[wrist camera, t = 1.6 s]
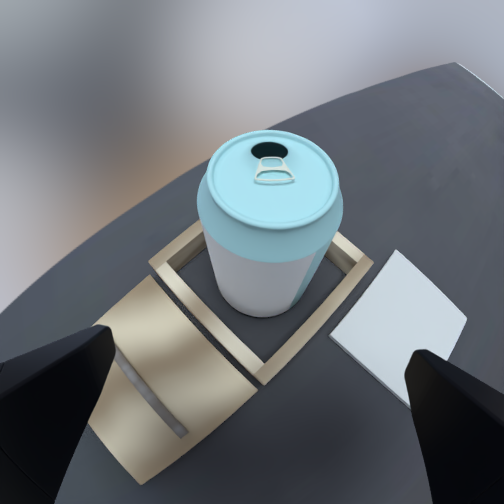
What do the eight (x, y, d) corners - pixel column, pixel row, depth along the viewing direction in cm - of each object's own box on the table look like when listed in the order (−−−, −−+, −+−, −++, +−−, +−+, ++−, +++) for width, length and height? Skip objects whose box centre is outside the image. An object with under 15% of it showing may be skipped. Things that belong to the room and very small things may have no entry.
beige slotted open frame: (362, 274, 23) (373, 262, 20) (144, 482, 15) (132, 491, 12) (260, 190, 26) (261, 172, 24) (56, 365, 18) (39, 361, 16)
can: (199, 271, 23) (161, 165, 12) (264, 222, 25) (275, 105, 14) (257, 338, 20) (269, 279, 10) (323, 279, 22) (382, 182, 12)
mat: (463, 320, 21) (467, 318, 20) (412, 410, 17) (415, 411, 17) (393, 252, 24) (396, 249, 23) (327, 335, 20) (330, 334, 20)
